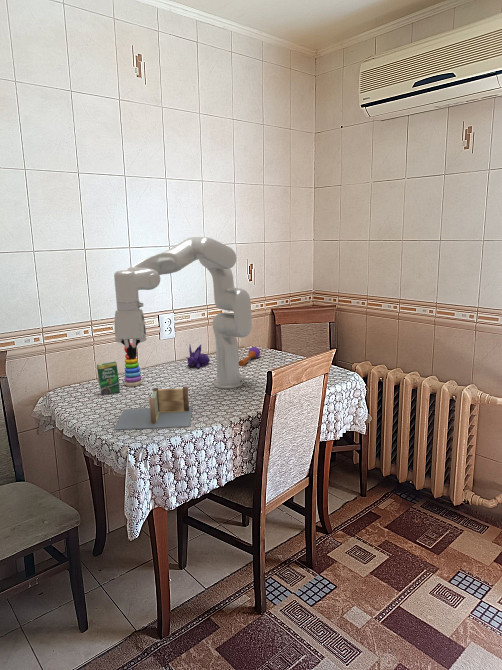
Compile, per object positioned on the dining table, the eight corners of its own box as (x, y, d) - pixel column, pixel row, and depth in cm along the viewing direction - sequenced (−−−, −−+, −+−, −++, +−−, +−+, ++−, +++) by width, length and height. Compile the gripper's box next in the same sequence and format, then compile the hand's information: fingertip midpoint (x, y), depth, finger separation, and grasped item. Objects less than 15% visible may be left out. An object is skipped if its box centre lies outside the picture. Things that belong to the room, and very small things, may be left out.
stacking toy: (146, 382, 222) (143, 341, 218) (136, 387, 214) (133, 345, 210) (130, 380, 224) (127, 340, 220) (120, 386, 217) (117, 344, 213)
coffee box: (100, 395, 205) (97, 365, 203) (99, 393, 208) (96, 363, 205) (120, 392, 209) (117, 362, 206) (119, 390, 211) (116, 361, 208)
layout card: (192, 407, 190) (192, 406, 189) (189, 426, 171) (189, 425, 171) (124, 410, 188) (124, 409, 188) (113, 430, 170) (113, 429, 170)
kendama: (234, 358, 243) (250, 346, 261) (237, 370, 244) (252, 356, 262) (245, 357, 240) (260, 344, 258) (248, 368, 242) (262, 355, 259)
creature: (178, 369, 240) (176, 345, 237) (202, 360, 255) (200, 337, 252) (192, 372, 235) (191, 347, 233) (215, 363, 250) (214, 339, 247)
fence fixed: (189, 409, 186) (187, 386, 184) (188, 411, 185) (187, 387, 183) (155, 410, 186) (153, 387, 184) (154, 412, 184) (152, 389, 182)
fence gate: (154, 411, 184) (152, 389, 182) (159, 411, 184) (157, 389, 182) (150, 422, 173) (148, 399, 171) (155, 422, 173) (154, 399, 171)
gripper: (152, 304, 174) (155, 354, 178) (109, 305, 174) (114, 355, 178) (147, 307, 166) (151, 360, 171) (103, 308, 167) (108, 361, 171)
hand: (132, 357), depth 174 cm, fingers closed
